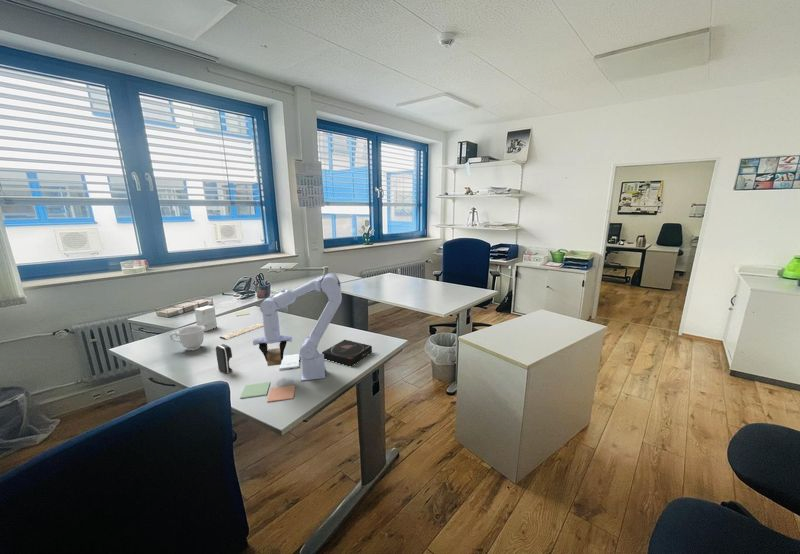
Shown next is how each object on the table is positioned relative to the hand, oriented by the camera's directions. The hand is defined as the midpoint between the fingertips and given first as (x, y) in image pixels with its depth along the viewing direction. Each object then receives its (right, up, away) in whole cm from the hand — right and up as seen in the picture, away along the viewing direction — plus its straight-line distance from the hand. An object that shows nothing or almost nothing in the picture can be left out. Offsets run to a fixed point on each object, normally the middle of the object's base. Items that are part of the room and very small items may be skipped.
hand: (274, 359), depth 131 cm
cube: (0, -1, 0) cm, 1 cm away
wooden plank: (-40, +1, +53) cm, 67 cm away
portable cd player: (+26, -4, +22) cm, 34 cm away
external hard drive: (+1, -6, +15) cm, 16 cm away
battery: (-24, -7, +9) cm, 27 cm away
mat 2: (+6, -10, -10) cm, 16 cm away
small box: (-62, +3, +58) cm, 85 cm away
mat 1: (-4, -10, -7) cm, 13 cm away
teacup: (-54, -3, +31) cm, 63 cm away
